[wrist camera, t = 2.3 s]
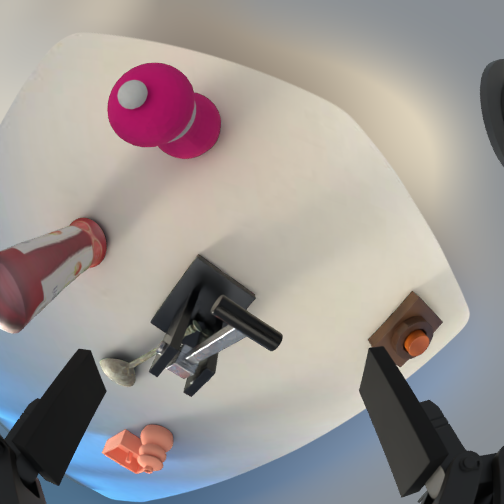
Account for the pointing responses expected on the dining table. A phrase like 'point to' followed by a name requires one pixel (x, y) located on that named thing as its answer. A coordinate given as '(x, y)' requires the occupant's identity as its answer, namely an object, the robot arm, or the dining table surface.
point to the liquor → (45, 269)
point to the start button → (416, 342)
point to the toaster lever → (225, 337)
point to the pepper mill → (163, 112)
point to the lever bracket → (195, 317)
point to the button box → (405, 327)
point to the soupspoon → (133, 363)
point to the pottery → (140, 449)
